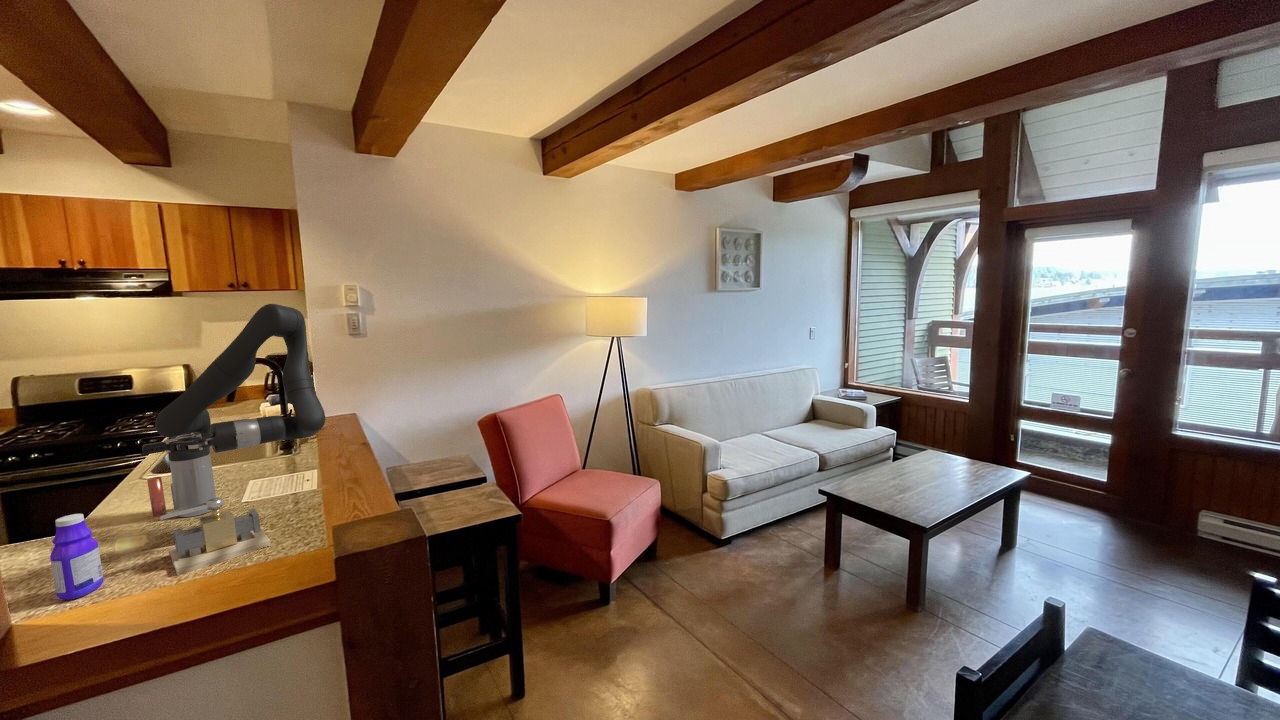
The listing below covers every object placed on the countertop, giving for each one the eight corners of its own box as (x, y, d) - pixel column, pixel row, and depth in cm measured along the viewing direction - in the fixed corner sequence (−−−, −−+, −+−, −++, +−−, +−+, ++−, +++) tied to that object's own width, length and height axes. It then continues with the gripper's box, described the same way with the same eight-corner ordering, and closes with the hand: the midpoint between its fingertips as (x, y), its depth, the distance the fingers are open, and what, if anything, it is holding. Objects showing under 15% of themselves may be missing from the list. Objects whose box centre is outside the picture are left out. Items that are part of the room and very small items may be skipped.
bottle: (84, 584, 114) (71, 511, 111) (111, 582, 114) (99, 509, 112) (49, 603, 106) (35, 525, 104) (79, 601, 107) (65, 524, 105)
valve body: (179, 561, 120) (173, 522, 118) (176, 554, 123) (170, 515, 122) (261, 536, 131) (257, 500, 130) (256, 530, 135) (252, 495, 134)
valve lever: (224, 506, 126) (219, 466, 125) (154, 524, 117) (147, 481, 115) (222, 503, 128) (217, 464, 127) (153, 520, 119) (146, 478, 118)
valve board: (177, 575, 116) (176, 569, 116) (169, 555, 125) (169, 550, 125) (270, 545, 129) (270, 540, 129) (258, 529, 139) (257, 524, 139)
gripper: (229, 416, 134) (138, 429, 121) (239, 424, 125) (143, 439, 113) (232, 443, 135) (142, 459, 122) (242, 453, 126) (147, 471, 114)
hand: (142, 449), depth 118 cm, fingers closed
